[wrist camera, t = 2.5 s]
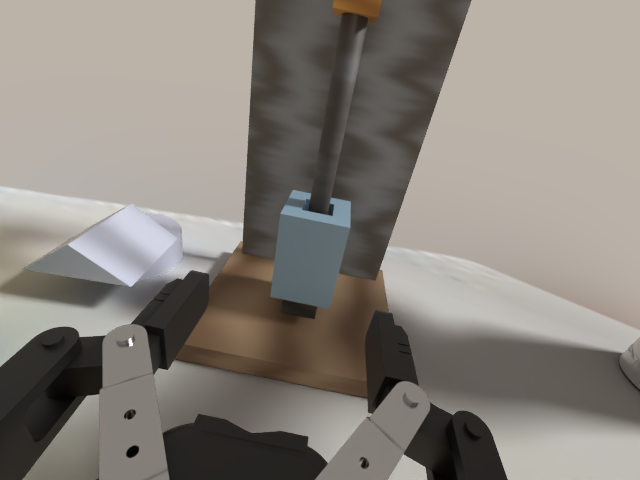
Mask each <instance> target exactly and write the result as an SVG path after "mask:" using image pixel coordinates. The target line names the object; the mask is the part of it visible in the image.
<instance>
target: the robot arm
mask: <svg viewBox="0 0 640 480" xmlns="http://www.w3.org/2000/svg"><path fill="white" fill-rule="evenodd" d="M208 301H209V275H208V274H207V273H202V272H198V271H193V270H192V271H190V272H189V273H188V274H187V276H186V277H185V278H184V279H183V280H182V279H176V280H174V281H172V282H170V283H168V284H167V285H166V286H165V287H164V288H163V289H162V290H161V291H160V293H159V294H158V295H157V296H156V297H155V298H154V300H152V301H151V302H150V303H149V304H148V305H147V307H146V308H145V309H144V310H143V311H142V312H141V313H140V314H139V315H138V316H137V317H136V319H135V320H134V321H133V322H132V323H131V324H129V325H123V326H120V327H118V328H116V329H114V330H112V331H111V332H109V333H108V334H107V335H106V336H93V337H79V333H78V331H77V330H76V329H74V328H71V327H57V328H52V329H49V330H47V331H44V332H42V333H40V334H39V335H37V336H36V337H34V338H33V339H32V340H31V341H30V342H28V343H27V344H26V345H25V346H24V347H23V348H22V349H20V350H19V351H18V352H17V353H16V354H15V355H14V356H12V357H11V358H10V359H9V360H8V361H7V362H6V363H4V364H3V365H2V366H1V367H0V480H22V479H23V478H24V477H25V475H26V474H27V473H28V471H29V470H30V469H31V467H32V466H33V465H34V464H35V462H36V461H37V460H38V458H39V457H40V456H41V454H42V453H43V452H44V451H45V449H46V448H47V447H48V445H49V444H50V443H51V442H52V440H53V439H54V438H55V436H56V435H57V434H58V432H59V431H60V430H61V429H62V427H63V426H64V425H65V423H66V422H67V421H68V419H69V418H70V417H71V416H72V414H73V413H74V412H75V410H76V409H77V408H78V406H79V405H80V404H81V403H82V401H83V400H84V399H85V397H86V396H88V395H97V394H100V395H99V478H98V479H96V480H388V478H389V477H390V475H391V473H392V472H393V470H394V468H395V467H396V465H397V464H398V462H399V460H400V459H401V457H402V455H403V454H404V455H406V456H407V457H409V458H411V459H413V460H414V461H416V462H418V463H419V464H421V465H423V466H425V467H426V473H427V480H508V479H507V476H506V474H505V471H504V468H503V465H502V462H501V459H500V456H499V453H498V451H497V448H496V445H495V442H494V439H493V436H492V434H491V432H490V430H489V428H488V427H487V425H486V424H485V423H484V422H483V421H482V420H481V419H480V418H479V417H478V416H476V415H474V414H473V413H471V412H468V411H458V412H456V413H455V414H454V416H453V415H451V414H450V413H448V412H446V411H444V410H442V409H440V408H438V407H436V406H435V405H433V404H432V403H431V402H430V401H429V398H428V396H427V395H426V393H425V392H424V391H423V390H422V389H421V388H420V387H419V385H418V381H417V376H416V372H415V367H414V363H413V358H412V355H411V349H410V347H409V346H410V345H409V340H408V336H407V334H406V333H405V331H404V330H403V328H402V327H401V326H397V325H394V320H393V315H392V313H389V312H384V311H379V310H375V312H374V315H373V317H372V320H371V323H370V325H369V328H368V331H367V334H366V338H365V359H366V378H367V397H368V413H372V415H371V416H370V417H367V418H366V419H365V420H364V421H363V422H362V423H361V424H360V426H359V427H358V428H357V429H356V430H355V432H354V433H353V434H352V435H351V437H350V438H349V439H348V440H347V441H346V443H345V444H344V445H343V446H342V447H341V449H340V450H339V451H338V452H337V454H336V455H335V456H334V457H333V458H332V460H331V461H330V462H329V463H327V462H326V461H325V459H324V458H323V457H322V456H321V455H320V454H318V453H317V452H316V451H315V450H313V449H312V448H310V447H308V446H307V444H308V437H307V436H302V435H297V434H293V433H288V432H283V431H277V432H264V433H250V432H248V431H246V430H244V429H242V428H240V427H238V426H236V425H235V424H233V423H231V422H229V421H227V420H225V419H220V418H215V417H211V416H206V415H201V414H198V416H197V418H196V420H195V422H194V423H190V424H185V425H181V426H178V427H175V428H172V429H170V430H168V431H166V432H164V433H162V428H161V421H160V415H159V408H158V402H157V395H156V388H155V382H154V374H155V372H156V371H157V369H158V368H161V369H165V370H168V369H169V367H170V366H171V364H172V362H173V361H174V359H175V358H176V356H177V355H178V353H179V351H180V350H181V348H182V347H183V345H184V344H185V342H186V340H187V339H188V337H189V336H190V334H191V333H192V331H193V329H194V328H195V326H196V325H197V323H198V322H199V320H200V319H201V317H202V315H203V314H204V312H205V310H206V308H207V305H208ZM619 363H620V366H621V368H622V370H623V371H624V373H625V374H626V376H627V377H628V378H629V379H630V380H631V381H632V383H633V384H634V385H635V386H636V387H637V388H638V389H640V337H639V338H638V339H637V340H636V341H635V342H634V343H633V344H632V345H631V346H630V347H629V348H628V349H627V350H626V351H625V352H624V353H623V354H622V355H621V356H620V358H619Z"/></svg>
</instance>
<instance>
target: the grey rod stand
mask: <svg viewBox="0 0 640 480" xmlns="http://www.w3.org/2000/svg"><path fill="white" fill-rule="evenodd" d="M470 3H471V0H256V4H255V5H256V6H255V24H254V41H253V61H252V79H251V99H250V116H249V135H248V154H247V172H246V191H245V210H244V228H243V242H242V241H241V242H240V243H239V245H238V246H237V248H236V249H235V251H234V252H233V254H232V255H231V256H230V258H229V259H228V261H227V262H226V264H225V265H224V267H223V268H222V270H221V271H220V273H219V274H218V276H217V277H216V278H215V280H214V281H213V283H212V284H211V286H210V287H209V301H208V305H207V308H206V310H205V312H204V314H203V315H202V317H201V319H200V320H199V322H198V323H197V325H196V326H195V328H194V329H193V331H192V333H191V334H190V336H189V337H188V339H187V340H186V342H185V344H184V345H183V347H182V348H181V350H180V351H179V353H178V355H177V356H176V358H175V359H177V360H182V361H187V362H192V363H197V364H202V365H207V366H212V367H216V368H221V369H226V370H231V371H236V372H241V373H246V374H251V375H256V376H261V377H266V378H271V379H276V380H281V381H286V382H290V383H295V384H300V385H305V386H310V387H315V388H320V389H325V390H330V391H335V392H340V393H345V394H350V395H355V396H359V397H364V398H368V397H367V378H366V359H365V338H366V334H367V331H368V328H369V325H370V323H371V320H372V317H373V315H374V312H375V310H379V311H384V312H388V305H387V299H386V292H385V286H384V279H383V273H382V270H379V269H380V266H381V263H382V261H383V258H384V255H385V252H386V249H387V246H388V243H389V240H390V237H391V234H392V231H393V228H394V225H395V222H396V219H397V217H398V214H399V211H400V208H401V205H402V202H403V199H404V196H405V193H406V190H407V187H408V184H409V182H410V179H411V176H412V173H413V169H414V167H415V164H416V161H417V158H418V155H419V152H420V149H421V146H422V143H423V140H424V137H425V135H426V132H427V129H428V126H429V123H430V120H431V117H432V114H433V111H434V108H435V105H436V103H437V100H438V97H439V94H440V91H441V88H442V85H443V82H444V79H445V76H446V73H447V70H448V67H449V65H450V62H451V59H452V56H453V53H454V50H455V47H456V44H457V41H458V38H459V35H460V32H461V29H462V26H463V24H464V21H465V17H466V15H467V12H468V8H469V6H470ZM293 190H296V191H301V192H306V193H311V197H310V203H309V209H308V211H310V212H315V213H320V214H325V215H327V214H328V210H329V205H330V200H331V198H335V199H340V200H345V201H350V202H351V216H350V231H349V235H348V239H347V243H346V247H345V250H344V254H343V258H342V262H341V266H340V270H339V274H338V277H337V281H336V285H335V289H334V293H333V297H332V301H331V305H330V308H329V309H327V308H322V307H317V306H313V305H308V304H303V303H298V302H293V301H288V300H283V299H278V298H273V297H270V295H271V287H272V278H273V270H274V262H275V254H276V245H277V237H278V229H279V221H280V213H281V211H282V210H283V208H284V206H285V204H286V202H287V200H288V198H289V196H290V194H291V193H292V191H293Z"/></svg>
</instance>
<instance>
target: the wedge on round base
mask: <svg viewBox="0 0 640 480" xmlns="http://www.w3.org/2000/svg"><path fill="white" fill-rule="evenodd" d="M182 258H183V245H182V230H181V226H180V225H179V223H178V222H176V221H175V220H173V219H171V218H169V217H166V216H163V215H158V214H151V213H144V212H142V211H141V210H140V209H139V208H137V207H136V206H135V205H133V204H130V205H128V206H127V207H125V208H123V209H121V210H119V211H117V212H116V213H114V214H112V215H110V216H108V217H107V218H105V219H103V220H101V221H99V222H98V223H96V224H94V225H92V226H91V227H89V228H88V229H86V230H84V231H83V232H81V233H80V234H78V235H76V236H75V237H73V238H72V239H70V240H68V241H67V242H65V243H64V244H62V245H60V246H59V247H57V248H56V249H54V250H52V251H51V252H49V253H48V254H46V255H44V256H43V257H41V258H40V259H38V260H36V261H35V262H33V263H32V264H30V265H28V266H27V267H25V268H24V270H30V271H36V272H42V273H48V274H54V275H60V276H66V277H73V278H79V279H85V280H91V281H97V282H103V283H109V284H115V285H121V286H127V287H132V286H133V285H134V284H135V283H136V282H137V281H139V280H145V279H150V278H154V277H157V276H160V275H162V274H165V273H167V272H169V271H170V270H172V269H173V268H175V267H176V266H177V265H178V264H179V263H180V261H181V260H182Z"/></svg>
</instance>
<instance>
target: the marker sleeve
mask: <svg viewBox="0 0 640 480" xmlns="http://www.w3.org/2000/svg"><path fill="white" fill-rule="evenodd" d="M310 197H311V193H306V192H301V191H296V190H293V191H292V193H291V194H290V196H289V198H288V200H287V202H286V204H285V206H284V208H283V210H282V211H281V213H280V221H279V229H278V237H277V245H276V254H275V262H274V270H273V278H272V287H271V295H270V297H273V298H278V299H283V300H288V301H293V302H298V303H303V304H308V305H313V306H317V307H322V308H327V309H329V308H330V305H331V301H332V297H333V293H334V289H335V285H336V281H337V277H338V274H339V270H340V266H341V262H342V258H343V254H344V250H345V247H346V243H347V239H348V235H349V231H350V216H351V202H350V201H345V200H340V199H335V198H331V200H330V205H329V210H328V214H327V215H325V214H320V213H315V212H310V211H308V209H309V203H310Z"/></svg>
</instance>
